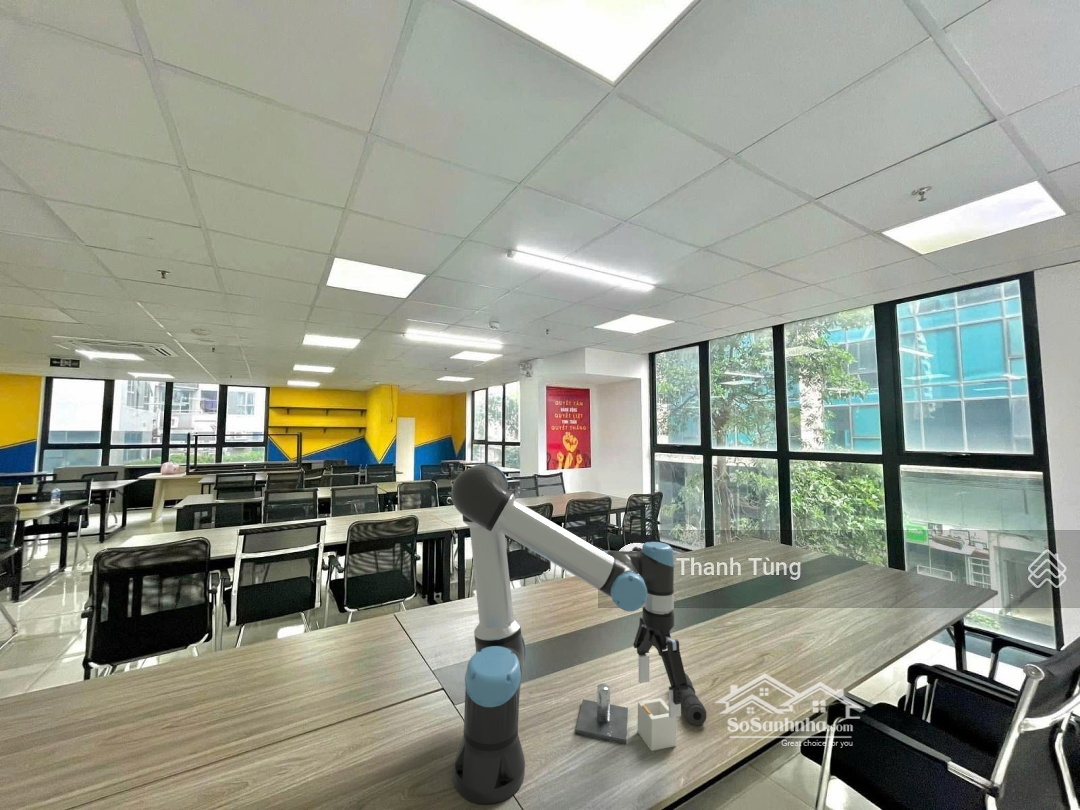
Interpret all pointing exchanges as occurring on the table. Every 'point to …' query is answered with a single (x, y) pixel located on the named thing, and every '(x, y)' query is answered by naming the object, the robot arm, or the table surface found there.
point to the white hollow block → (656, 724)
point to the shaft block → (603, 718)
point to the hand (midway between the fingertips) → (658, 697)
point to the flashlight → (692, 705)
